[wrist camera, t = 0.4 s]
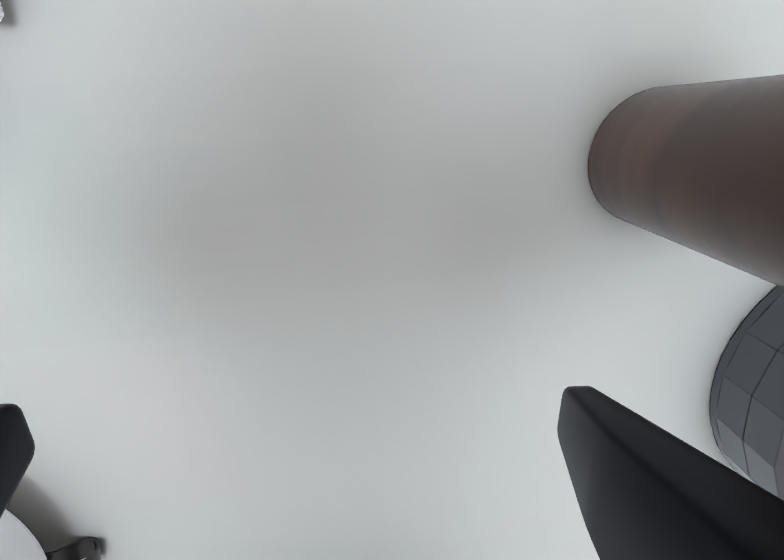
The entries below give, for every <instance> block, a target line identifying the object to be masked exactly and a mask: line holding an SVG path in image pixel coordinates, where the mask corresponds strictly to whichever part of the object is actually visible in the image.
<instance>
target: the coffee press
mask: <svg viewBox="0 0 784 560" xmlns="http://www.w3.org/2000/svg"><path fill="white" fill-rule="evenodd" d="M83 558H86V559H84V560H101V551H100V542H99V541H98V540H97V539H96V538H83V539H80V540H78V541H76V542H73V543H71V544H69V545H67V546H65V547H63V548H60V549H58V550H55V551H52V552H48V553H44V551H43V549H42V547H41V546H40V544H39V542H38V541H37V539H36V538H35V537H34V535H33V534H32V533H31V532H30V531H29V529H28V528H27V527H26V526H25V525H24V524H23V523H22V522H21V521H20V520H19V519H17V518H16V517H15V516H14V515H13V514H11V513H10V512H9V511H7V510H6V509H5V511H4V513H3V514H2V516H1V518H0V560H81V559H83Z"/></svg>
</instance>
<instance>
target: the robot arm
mask: <svg viewBox="0 0 784 560" xmlns="http://www.w3.org/2000/svg"><path fill="white" fill-rule="evenodd" d="M558 438H559V442H560V445H561V449H562V452H563V455H564V458H565V461H566V465H567V468H568V471H569V474H570V477H571V481H572V484H573V487H574V490H575V493H576V497H577V500H578V503H579V506H580V509H581V513H582V515H583V518H584V521H585V524H586V527H587V530H588V532H589V535H590V537H591V540H592V542H593V544H594V547H595V549H596V551H597V554H598V556H599V558H600V560H784V501H783V500H782V499H780V498H778V497H777V496H775V495H773V494H772V493H770V492H768V491H767V490H765V489H763V488H762V487H760V486H758V485H756V484H755V483H753V482H751V481H750V480H748V479H746V478H745V477H743V476H741V475H740V474H738V473H736V472H735V471H733V470H731V469H729V468H728V467H726V466H724V465H723V464H721V463H719V462H718V461H716V460H714V459H713V458H711V457H709V456H708V455H706V454H704V453H702V452H701V451H699V450H697V449H696V448H694V447H692V446H691V445H689V444H687V443H686V442H684V441H682V440H681V439H679V438H677V437H675V436H674V435H672V434H670V433H669V432H667V431H665V430H664V429H662V428H660V427H659V426H657V425H655V424H653V423H652V422H650V421H648V420H647V419H645V418H643V417H642V416H640V415H638V414H637V413H635V412H633V411H632V410H630V409H628V408H626V407H625V406H623V405H621V404H620V403H618V402H616V401H615V400H613V399H611V398H610V397H608V396H606V395H605V394H603V393H601V392H599V391H598V390H596V389H594V388H593V387H590V386H570V387H567V388H566V389H564V392H563V394H562V400H561V407H560V413H559V420H558ZM34 450H35V444H34V440H33V438H32V435H31V432H30V430H29V427H28V425H27V422H26V420H25V417H24V415H23V412H22V410H21V409H20V408H19V407H18V406H17V405H15V404H0V518H1V516H2V514H3V513H4V511H5V509H6V507H7V505H8V503H9V501H10V499H11V498H12V496H13V494H14V492H15V490H16V488H17V486H18V484H19V483H20V481H21V479H22V477H23V475H24V473H25V471H26V469H27V468H28V466H29V464H30V462H31V460H32V458H33V455H34Z"/></svg>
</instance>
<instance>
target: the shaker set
mask: <svg viewBox="0 0 784 560" xmlns="http://www.w3.org/2000/svg"><path fill="white" fill-rule="evenodd" d="M4 15H5V14H4V12H3V8H2V7H1V2H0V21H2V18H3V17H4Z"/></svg>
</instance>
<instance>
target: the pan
mask: <svg viewBox="0 0 784 560" xmlns="http://www.w3.org/2000/svg"><path fill="white" fill-rule="evenodd" d="M710 415H711V424H712V428H713V433H714V436H715V439H716V441H717V444H718V446H719V448H720V450H721V452H722V453H723V455H724V456H725V458H726V459H727V461H728V462H729V463H730V464H731V465H732V466H733V467H734V468H735V469H736V470H737V472H738V473H739V474H740V475H741V476H743V477H745V478H746V479H748V480H750V481H751V482H753V483H755V484H756V485H758V486H760V487H762V488H763V489H765V490H767V491H768V492H770V493H772V494H773V495H775V496H777V497H778V498H780V499H782V500H783V501H784V288H783V287H780V286H778V287H777V288H775V289H774V290H773V291H772V292H771V293H770V294H769V295H768V296H766V297H765V298H764V299H763V300H762V301H761V302H760V303H759V304H758V305H757V306H756V307H755V308H754V310H753V311H752V312H751V313H750V314H749V315H748V317H747V318H746V319H745V320H744V321H743V323H742V324H741V325H740V327H739V328H738V330H737V331H736V333H735V334H734V336H733V337H732V339H731V340H730V342H729V344H728V346H727V348H726V350H725V352H724V353H723V355H722V358H721V360H720V363H719V365H718V368H717V371H716V374H715V378H714V382H713V386H712V390H711V400H710Z"/></svg>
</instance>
